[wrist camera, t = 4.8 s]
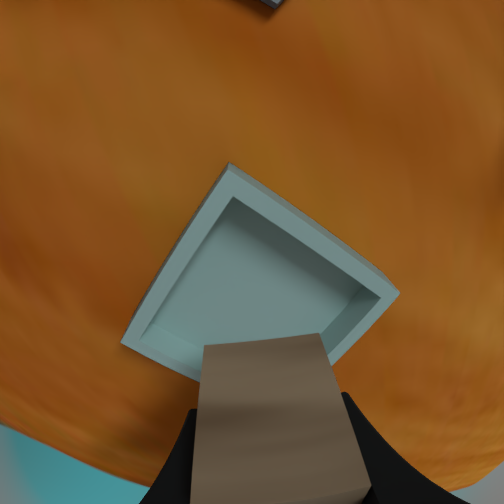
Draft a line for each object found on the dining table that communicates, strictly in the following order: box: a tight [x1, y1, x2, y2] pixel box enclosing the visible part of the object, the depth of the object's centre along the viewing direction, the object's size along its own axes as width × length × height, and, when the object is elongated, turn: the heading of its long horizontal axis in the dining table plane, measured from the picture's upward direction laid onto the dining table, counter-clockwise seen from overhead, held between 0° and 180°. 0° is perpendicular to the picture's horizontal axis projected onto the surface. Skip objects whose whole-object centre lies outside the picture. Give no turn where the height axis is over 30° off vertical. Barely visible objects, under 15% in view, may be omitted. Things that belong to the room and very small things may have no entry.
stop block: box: [190, 333, 371, 504], centre depth 9 cm, size 4×4×6 cm
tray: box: [120, 162, 400, 382], centre depth 16 cm, size 11×11×2 cm
